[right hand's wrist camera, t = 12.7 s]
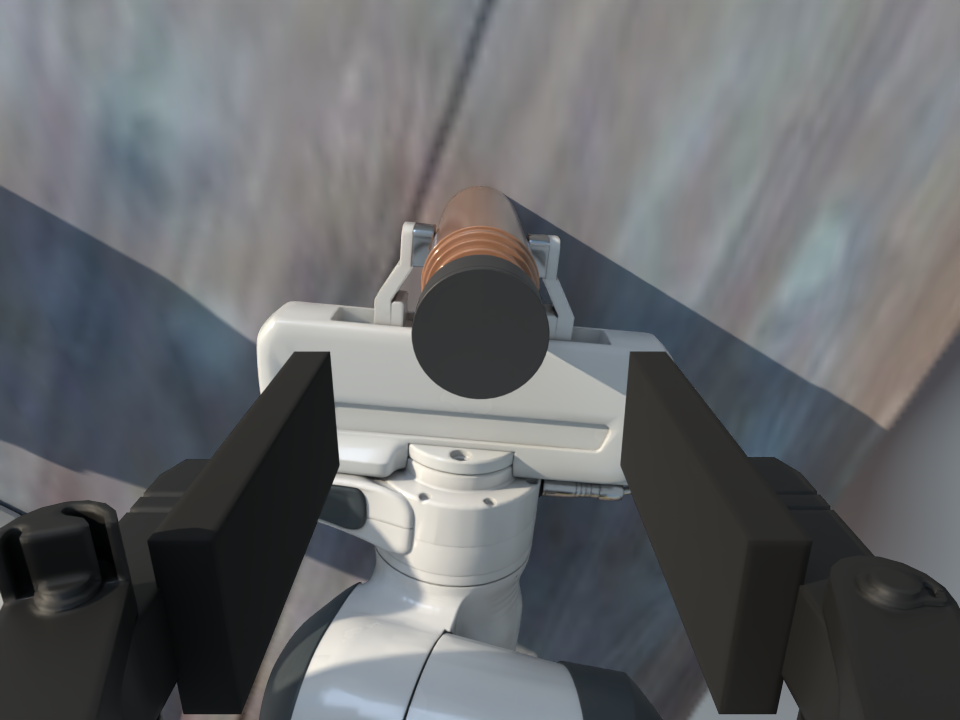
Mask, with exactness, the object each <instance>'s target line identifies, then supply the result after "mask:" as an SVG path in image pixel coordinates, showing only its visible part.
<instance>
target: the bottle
mask: <svg viewBox="0 0 960 720" xmlns="http://www.w3.org/2000/svg"><path fill="white" fill-rule="evenodd" d="M469 255H492V256H496V257H500V258H503V259H505V260H508V261H510V262H512V263H514V264H515V265H517V266H518V267H520V268H521V269H522V270H523V271H524V272H525V273H526V274H527V275H528V276H529V277H530V278H531V279H532V281H533V282H534V284H535V285H536V287H537V289H538V291H539V290H540V278H539V272H538V268H537V265H536V262H535V259H534V256H533V254H532V251H531V248H530V246H529V243H528V240H527V238H526V235H525V232H524V230H523V227H522V224H521V222H520V219H519V216H518V214H517V211H516V209H515V207H514V205H513V204H512V202H511V201H510V200H509V199H508V198H507V197H506V196H505V195H504V194H502V193H501V192H499V191H497V190H495V189H492V188H488V187H472V188H468V189H466V190H463V191H461V192H460V193H458V194H457V195H455V196H454V197H453V198H452V199H451V200H450V201H449V203H448V204H447V206H446V207H445V209H444V212H443V214H442V217H441V220H440V223H439V225H438V228H437V231H436V234H435V236H434V239H433V242H432V245H431V247H430V250H429V253H428V256H427V258H426V261H425V264H424V267H423V270H422V275H421V292H422V291H423V289H424V287H425V285H426V283H427V282H428V281H429V279H430V278H431V277H432V276H433V275H434V274H435V273H436V271H438V270H439V269H440V268H441V267H443V266H444V265H446V264H447V263H449V262H451V261H453V260H455V259H458V258H461V257H464V256H469Z"/></svg>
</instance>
